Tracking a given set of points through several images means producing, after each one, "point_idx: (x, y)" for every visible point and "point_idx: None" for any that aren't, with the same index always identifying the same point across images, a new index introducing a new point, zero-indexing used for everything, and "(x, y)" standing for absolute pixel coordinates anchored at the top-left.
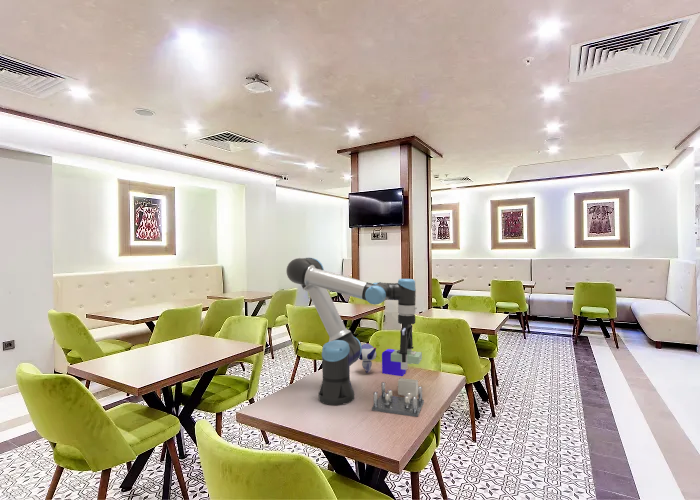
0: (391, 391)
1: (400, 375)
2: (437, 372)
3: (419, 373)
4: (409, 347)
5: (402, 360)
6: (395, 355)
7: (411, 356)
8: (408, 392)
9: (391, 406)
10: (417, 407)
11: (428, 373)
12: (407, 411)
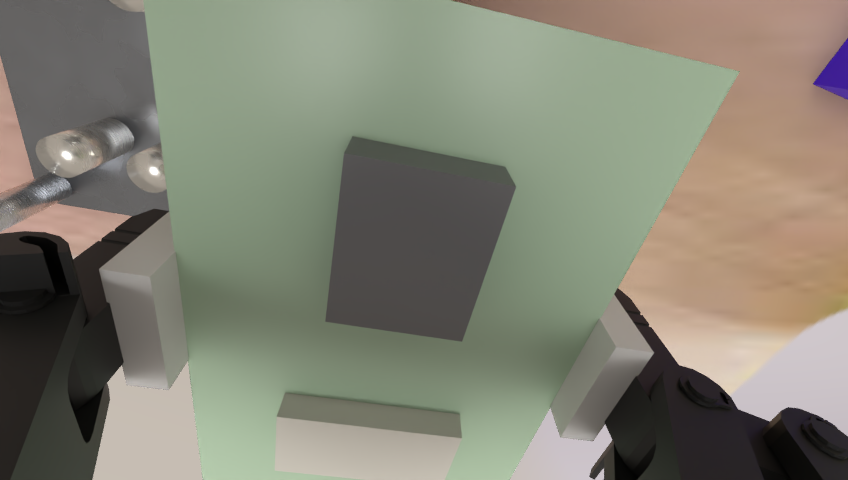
0: (115, 3)
1: (831, 67)
2: (806, 322)
3: (831, 218)
4: (623, 442)
5: (124, 232)
6: (167, 95)
7: (196, 408)
8: (156, 169)
9: (57, 10)
10: (135, 201)
11: (807, 273)
12: (36, 138)
